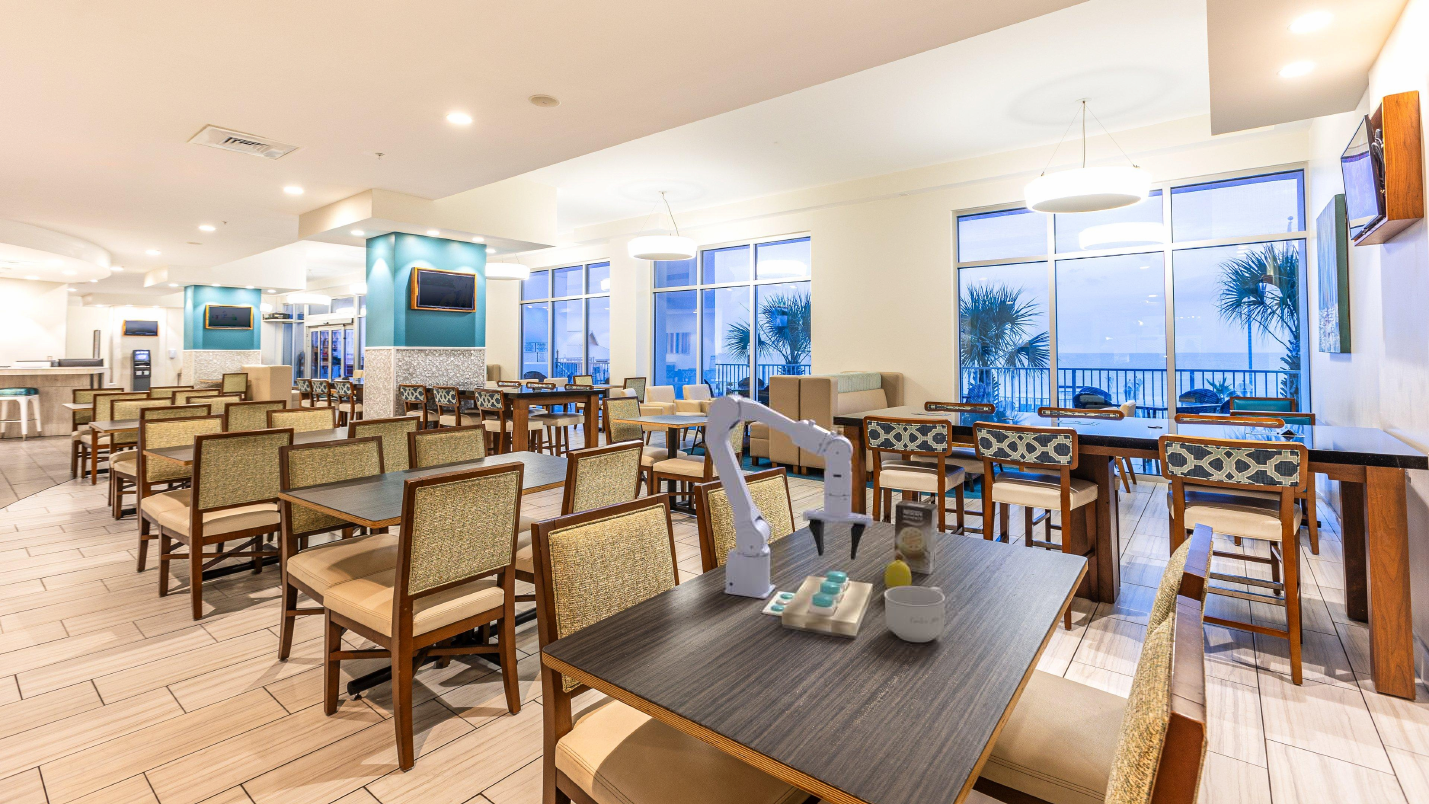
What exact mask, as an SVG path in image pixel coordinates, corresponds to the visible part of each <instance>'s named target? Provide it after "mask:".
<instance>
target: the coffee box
mask: <svg viewBox="0 0 1429 804" xmlns="http://www.w3.org/2000/svg"><path fill="white" fill-rule="evenodd" d="M938 509H939V505H938V504H936V503H935V504H934V503H929V502H923V501H913V500H907V499H901V500H899V501H898V502H897V503H896V504H895V513H894V514H895V516H894V517H895V518H894V520H895V521H894V543H893V544H894V550H893V552H894V553H893V562H894V561H897V560H900V561H901V562H903V563H905V564H906V565H907V566H908V567H909V569H910V572H914V573H920V574H925V575H931V573H933V572H934V570H935V569H936V568H937V567H936V566H937V565H936V563H937V559H936V558H937V542H938V541H937V539H938V538H937V537H938V535H937V533H938V513H939V512H938Z"/></svg>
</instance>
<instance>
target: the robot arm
mask: <svg viewBox="0 0 1429 804" xmlns="http://www.w3.org/2000/svg"><path fill="white" fill-rule="evenodd" d="M706 415H707V421H706V427H705V433H704V434H705V435H704V441H705V444H706V447H707V449H708V452H709V454H710V457H711V460H712V462H713V463H712V464H714V467H715V470H716V472H717V475H718V478H719V480H720V482H721V486H722V488H723V491H724V493H725V496H726V499H727V501H728V504H729V506H730V508H731V512H732V514H733V528H734V530H735V545H736V548H737V549H736V548H734V549H733V548H731V549H730V550H729V551H728V554H727V556H726V560H725V590H724V593H725V594H729V595H734V596H735V595H736V596H742V597H750V598H757V599H765V600H766V599H767V598H768V597H769V595H770V594H771V593H772V592H773V591H774V590H775V588H776V584H773V583H771V548H770V547H769V545H768V543H767V542H768V541H769V540H770V539H771V537H772V527H771V525H770V523H769V521H767V519H765V518H764V516H763V515H762V513H761V510H760V509H759V507H757V506H756V504H755V502H754V500H753V497H752V495H751V492H750V489H749V487H748V485H747V482H746V479H745V476H744V474H743V472H742V468H741V467H740V464H739V462H738V458H737V455H736V454H735V452H734V448H733V447H732V443H731V440H730V439H731V437H732V435H733V432H734V430H735V428H736V427H737V425H738V424H739V423H741V422H752V421H754V422H759V423H761V424H763V425H765V426H767V427H770V428H771V429H774V430H775V431H776V430H777V431H779V432H781V433H783V434H785V435H788V436H789V437H790V440H791V442H792V443H791V444H793V445H795V446H797V447H799V448H801V449H803V450H805V451H808V452H809V453H812V454H813V455H816V456H818V457H823V459H824V461H825V471H824V478H823V479H824V480H823V481H824V487H823V488H824V490H823V492H824V493H823V497H824V498H823V510H821V509H820V510H819V509H818V510H816V509H815V510H812V509H811V510H810V509H805V510H804V511H803V512H802V521H804V522H808V521H809V523H808V528H809V531H810V532H811V535H812V536H813V538H814V541H815V544H816V549H817V553H818V556H819V557H822V556H823V555H824V553H825V552H824V551H825V545H824V544H825V543H824V540H825V539H824V532H825V523H831V524H832V523H834V524H843V525H852V526H851V527H850V536H851V537H850V541H851V547H850V549H851V550H850V560H853V561H854V560H855V559H856V558H857V557H856V556H857V550H858V546H859V544H860V541H861V538H862V535H863V533H864V531H865V530H866V528H872V527H873V525H874V516H873V515H867V514H866V515H865V514H861V513H856V512H852V500H853V499H852V494H853V492H852V489H853V472H852V467H853V466H852V465H853V464H852V458H853V453H854V448H853V444H852V442H851V441H850V439H848V438H847V437H845V436H844V435H842V434H837V433H836V431H834V430H831V431H829V430H827V429H826V428H822V426H819V425H816V421H815V420H813V419H809V420H806V419H802V420H799V421H795V420H792V419H791V418H789V417H787V416H785V415H783V414H782V413H781V412H780V413H779V412H777V411H775V410H774V409H772V408H770V407H768V406H766V405H765V404H762V403H761V402H758V401H756V400H754V399H752V398H748V397H743V395H740V394H738V393H729V394H727V395H721V396H718V397H716V398H715V399H714V400H713V401H712V403H711V405H710V406H709V408H708V410H707V411H706Z"/></svg>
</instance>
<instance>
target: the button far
mask: <svg viewBox="0 0 1429 804" xmlns="http://www.w3.org/2000/svg"><path fill="white" fill-rule="evenodd" d="M826 575H827V576H826V577H825V578H826V580H825V581H824V582H835V583H838V584H839V585H840V588H841V589H843V591H847V589H848V587H849V581H850V578H849V577H847V573H845V572H843V571H839V570H838V571H837V570H834V571H828V572H827V574H826Z"/></svg>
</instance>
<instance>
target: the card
mask: <svg viewBox="0 0 1429 804" xmlns="http://www.w3.org/2000/svg"><path fill="white" fill-rule="evenodd" d="M795 594H796V592H795V593H794V592H786V591H777V593H776V594H775V595H774V596H773V598H772V599H771V600H770V601H769V602H768V604H767V605H766V606H765V607H764V609H763V610H762V614H766V615H772V616H778V617H782V611H783V610H784V609H785V607H786V606H787V604H788V603H789V602H790V600H791V599H792V598H793V596H794V595H795Z"/></svg>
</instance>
